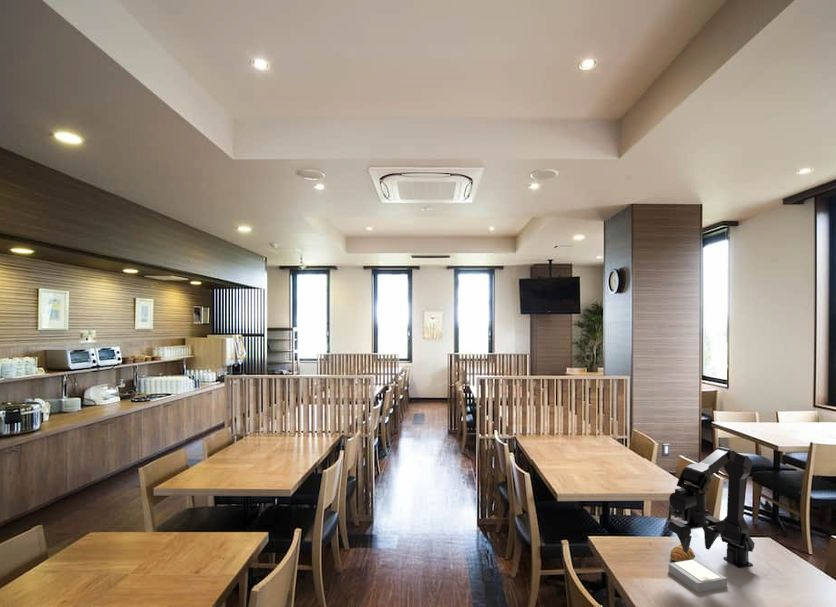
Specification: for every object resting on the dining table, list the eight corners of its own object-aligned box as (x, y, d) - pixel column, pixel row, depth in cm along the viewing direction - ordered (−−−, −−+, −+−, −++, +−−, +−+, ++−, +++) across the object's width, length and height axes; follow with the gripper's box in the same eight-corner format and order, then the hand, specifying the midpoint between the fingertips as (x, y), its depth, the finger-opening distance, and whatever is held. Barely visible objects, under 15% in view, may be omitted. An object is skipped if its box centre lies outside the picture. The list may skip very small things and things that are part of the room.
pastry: (684, 567, 157) (684, 557, 157) (664, 558, 163) (665, 548, 163) (696, 559, 163) (696, 548, 163) (677, 550, 168) (677, 540, 168)
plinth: (696, 567, 158) (695, 558, 158) (727, 587, 146) (726, 577, 146) (668, 572, 155) (668, 562, 155) (698, 592, 143) (697, 582, 143)
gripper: (697, 493, 162) (698, 536, 161) (655, 498, 157) (656, 542, 156) (725, 505, 151) (726, 551, 150) (681, 511, 146) (681, 559, 146)
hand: (696, 550), depth 151 cm, fingers open, 9 cm apart
